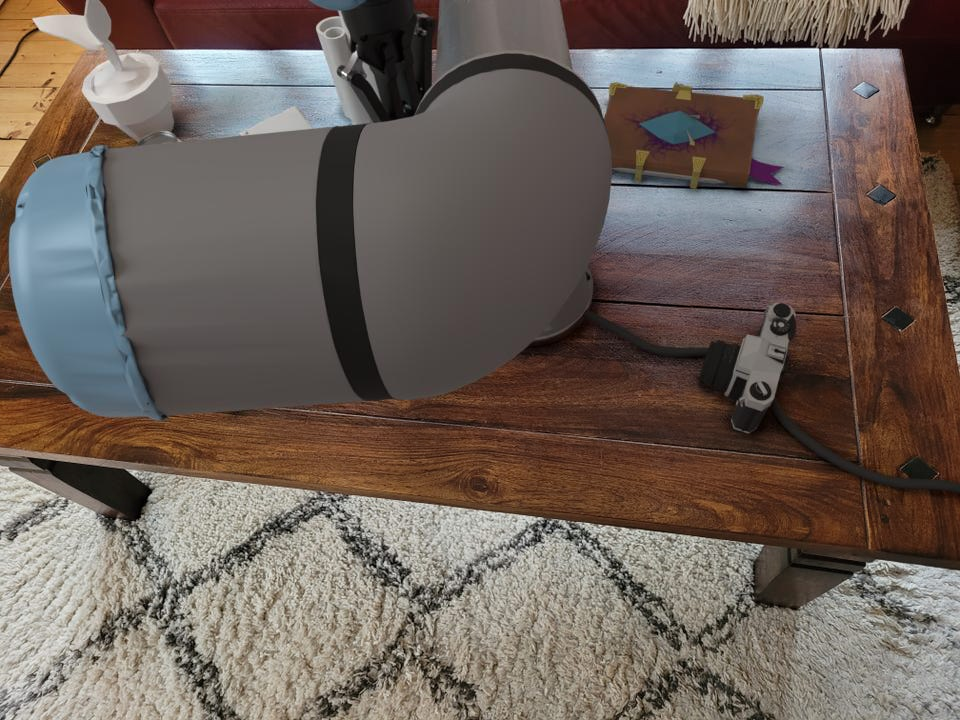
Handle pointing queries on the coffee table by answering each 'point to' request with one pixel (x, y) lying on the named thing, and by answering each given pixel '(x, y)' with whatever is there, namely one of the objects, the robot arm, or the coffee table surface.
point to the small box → (280, 123)
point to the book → (685, 135)
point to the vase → (338, 53)
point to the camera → (752, 366)
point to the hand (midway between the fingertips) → (414, 159)
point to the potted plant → (117, 75)
